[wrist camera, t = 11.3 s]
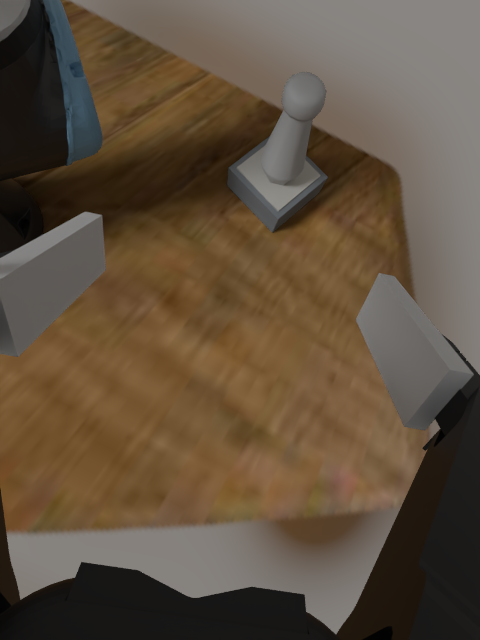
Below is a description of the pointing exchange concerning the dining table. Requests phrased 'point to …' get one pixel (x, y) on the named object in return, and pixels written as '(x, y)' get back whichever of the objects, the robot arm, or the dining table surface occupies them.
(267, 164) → the salt shaker
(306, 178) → the slate plinth
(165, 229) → the dining table surface
